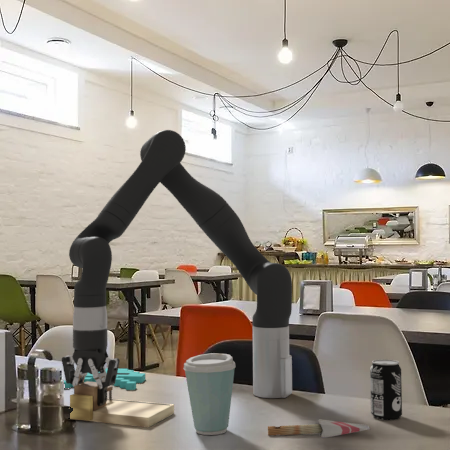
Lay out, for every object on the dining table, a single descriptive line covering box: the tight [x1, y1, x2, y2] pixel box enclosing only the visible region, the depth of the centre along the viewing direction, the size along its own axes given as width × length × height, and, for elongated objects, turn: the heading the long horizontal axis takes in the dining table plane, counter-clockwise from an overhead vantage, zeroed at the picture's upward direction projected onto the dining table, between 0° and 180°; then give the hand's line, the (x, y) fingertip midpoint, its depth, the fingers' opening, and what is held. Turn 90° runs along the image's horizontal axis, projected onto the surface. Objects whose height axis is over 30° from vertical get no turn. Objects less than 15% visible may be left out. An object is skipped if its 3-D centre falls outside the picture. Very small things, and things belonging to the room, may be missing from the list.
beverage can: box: [369, 358, 403, 421], centre depth 139 cm, size 7×7×12 cm
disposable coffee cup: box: [182, 352, 236, 436], centre depth 130 cm, size 11×11×15 cm
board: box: [74, 397, 175, 428], centre depth 142 cm, size 20×12×2 cm, turn 68°
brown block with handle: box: [69, 381, 114, 422], centre depth 143 cm, size 5×13×7 cm, turn 158°
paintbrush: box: [267, 418, 371, 438], centre depth 127 cm, size 4×3×20 cm
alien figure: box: [62, 367, 146, 391], centre depth 179 cm, size 20×2×20 cm
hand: (90, 403), depth 141 cm, fingers closed on brown block with handle, 5 cm apart
